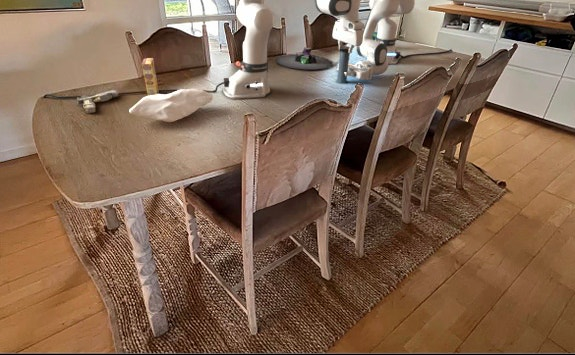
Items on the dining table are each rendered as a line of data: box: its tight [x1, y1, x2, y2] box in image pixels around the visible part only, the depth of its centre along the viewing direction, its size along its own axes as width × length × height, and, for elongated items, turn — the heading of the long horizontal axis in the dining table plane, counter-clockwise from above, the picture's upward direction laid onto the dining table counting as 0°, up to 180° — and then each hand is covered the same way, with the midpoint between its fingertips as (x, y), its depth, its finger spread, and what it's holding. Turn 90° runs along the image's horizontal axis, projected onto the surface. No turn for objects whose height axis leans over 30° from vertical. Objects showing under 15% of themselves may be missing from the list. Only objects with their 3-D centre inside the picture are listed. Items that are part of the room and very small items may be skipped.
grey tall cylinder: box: [336, 50, 351, 84], centre depth 189 cm, size 5×5×17 cm
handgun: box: [76, 89, 120, 114], centre depth 155 cm, size 3×18×15 cm
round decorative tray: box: [275, 46, 334, 71], centre depth 220 cm, size 35×35×9 cm
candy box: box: [141, 57, 160, 96], centre depth 163 cm, size 9×4×15 cm, turn 13°
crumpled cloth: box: [129, 88, 214, 123], centre depth 147 cm, size 24×35×9 cm
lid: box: [339, 45, 350, 52], centre depth 184 cm, size 6×6×2 cm
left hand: (345, 51), depth 185 cm, fingers closed on lid, 6 cm apart
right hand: (341, 72), depth 190 cm, fingers closed on grey tall cylinder, 5 cm apart
